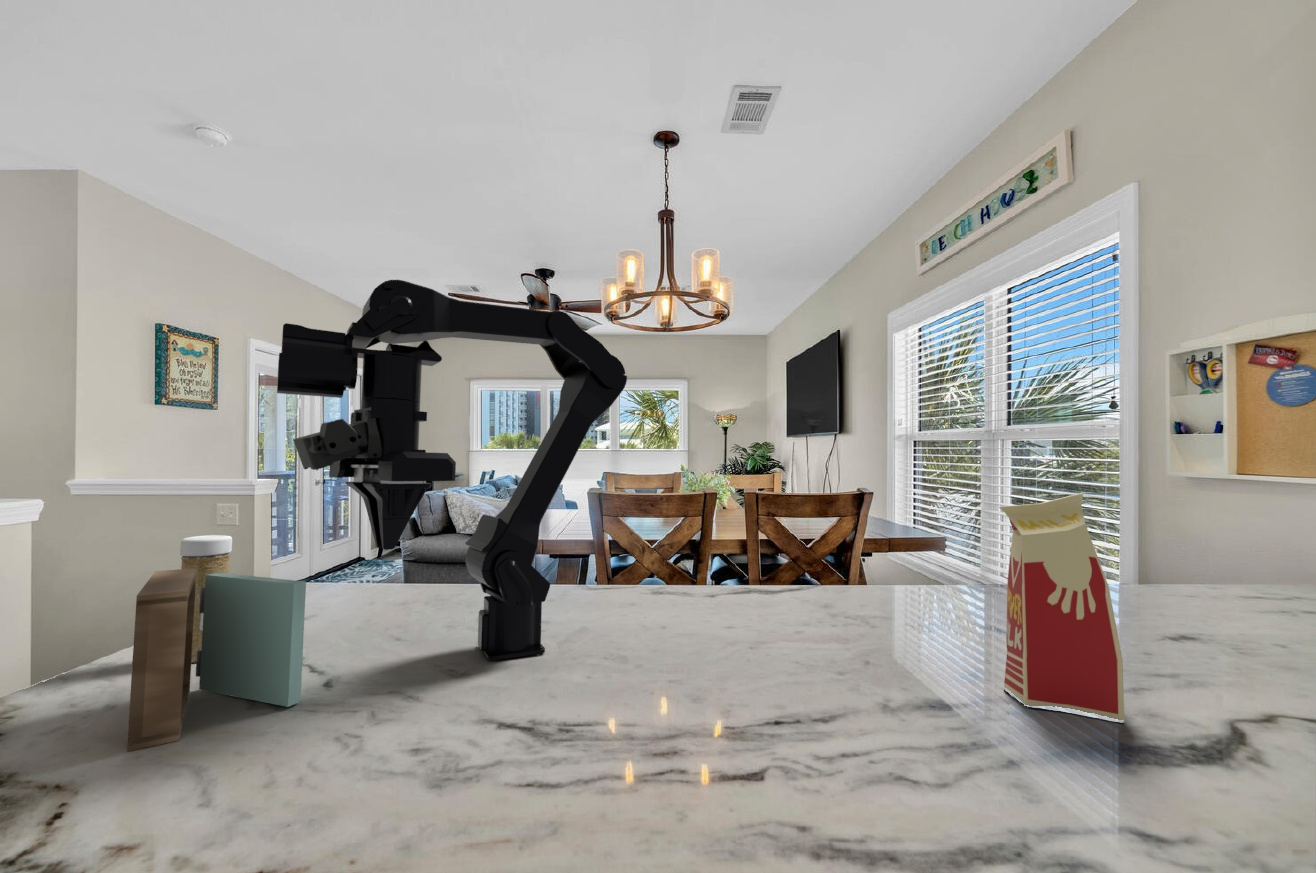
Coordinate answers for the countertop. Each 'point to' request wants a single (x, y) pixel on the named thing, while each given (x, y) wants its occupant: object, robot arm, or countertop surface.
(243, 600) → the door
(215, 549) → the sprinkles bottle
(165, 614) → the cabinet
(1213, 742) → the countertop surface
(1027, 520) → the milk carton
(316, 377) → the robot arm
